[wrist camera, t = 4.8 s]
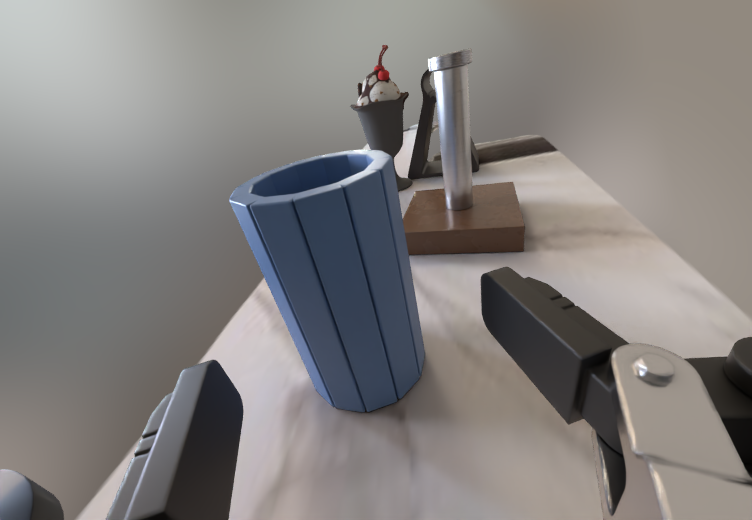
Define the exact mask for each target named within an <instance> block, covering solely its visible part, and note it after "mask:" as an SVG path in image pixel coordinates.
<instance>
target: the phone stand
mask: <svg viewBox="0 0 752 520" xmlns="http://www.w3.org/2000/svg"><path fill="white" fill-rule="evenodd" d="M431 73H432V72H430V71H429V69H428V70H427V71H426V72H425V73H424V74H423V76H422V79H421V88H422V92H423V105H422V110H421V115H420V120H419V124H418V129H417V134H416V139H415V144H414V149H413V154H412V158H411V163H410V168H409V173H408V178H409V179H416V178H424V177H433V176H441V174H443V168H442V160H439V161H432V162H428V161H427V157H428V150H429V143H430V136H431V129H432V122H433V115H434V108H435V103H436V102H437V100H436V92H435V90H433V88H432V87H431V85H430V81H429V80H430V75H431ZM470 140H471V164H472V172H477V171H478V170H479V155H478V153H477V150H476V148H475V145H474V143H473V141H472V139H471V136H470Z"/></svg>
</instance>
